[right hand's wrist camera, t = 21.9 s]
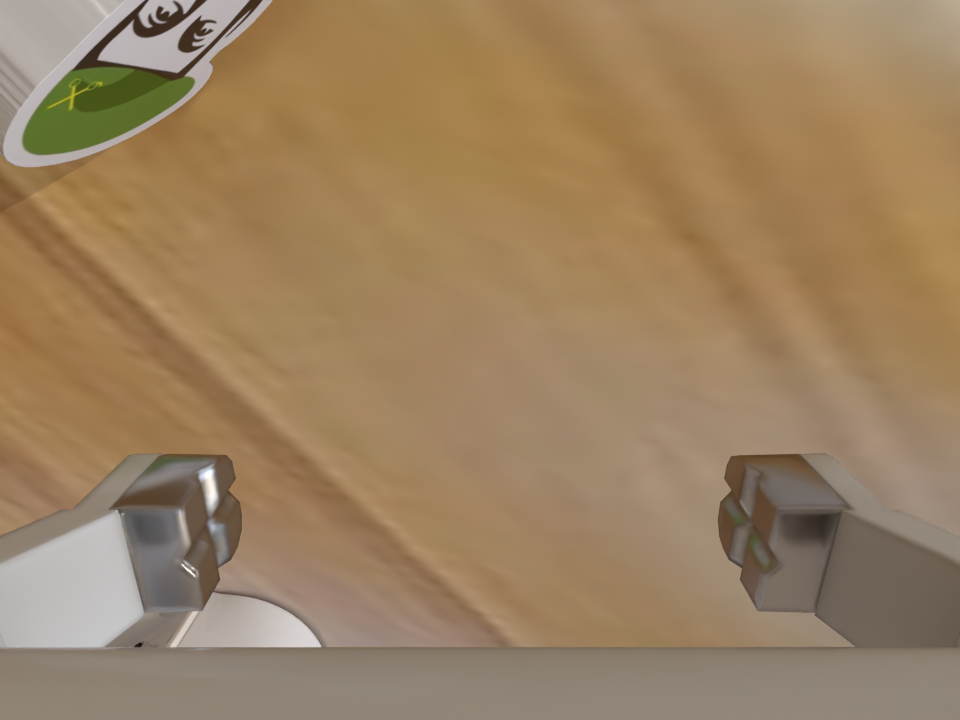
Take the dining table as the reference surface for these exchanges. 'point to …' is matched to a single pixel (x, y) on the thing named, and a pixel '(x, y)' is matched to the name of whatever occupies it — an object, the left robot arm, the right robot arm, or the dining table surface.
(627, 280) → the dining table surface
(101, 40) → the cutout
